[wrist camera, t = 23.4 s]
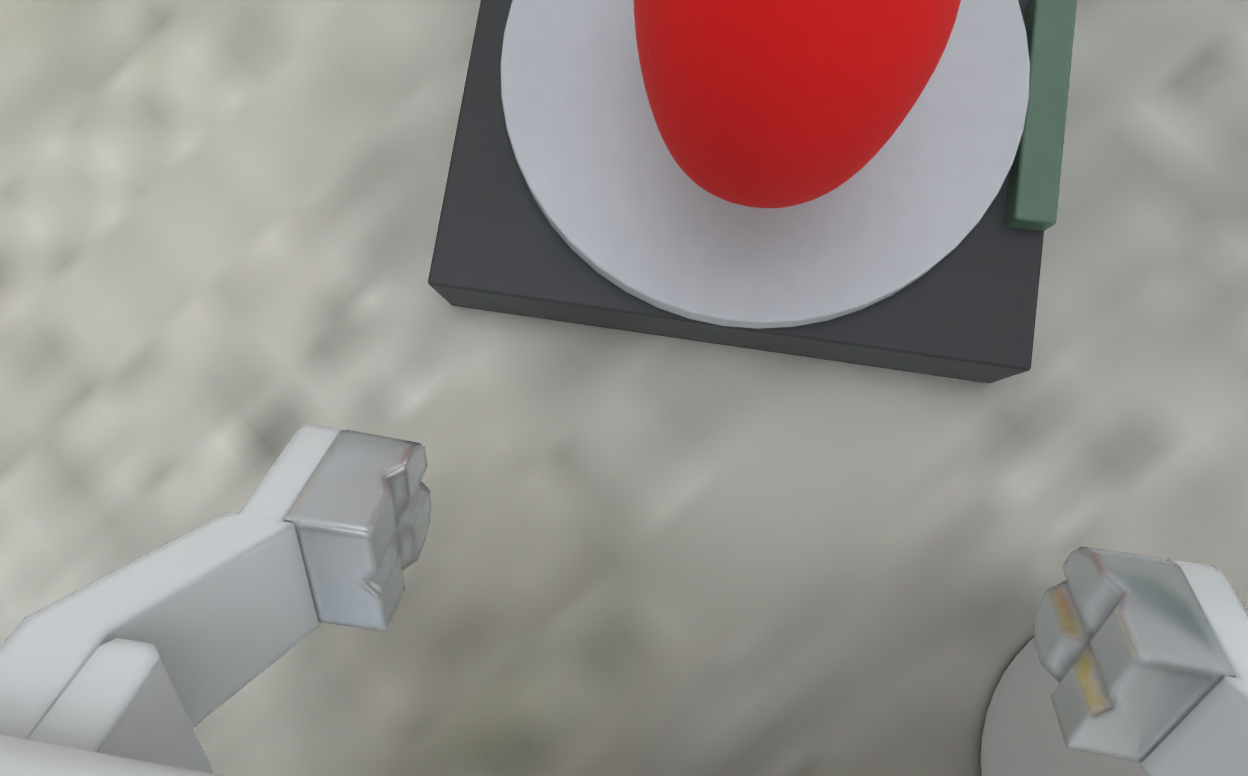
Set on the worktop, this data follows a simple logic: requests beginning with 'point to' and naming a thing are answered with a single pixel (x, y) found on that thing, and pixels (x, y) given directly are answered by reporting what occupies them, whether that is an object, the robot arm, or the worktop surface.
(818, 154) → the heart
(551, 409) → the worktop surface
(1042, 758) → the mug
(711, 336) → the scale
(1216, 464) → the worktop surface
